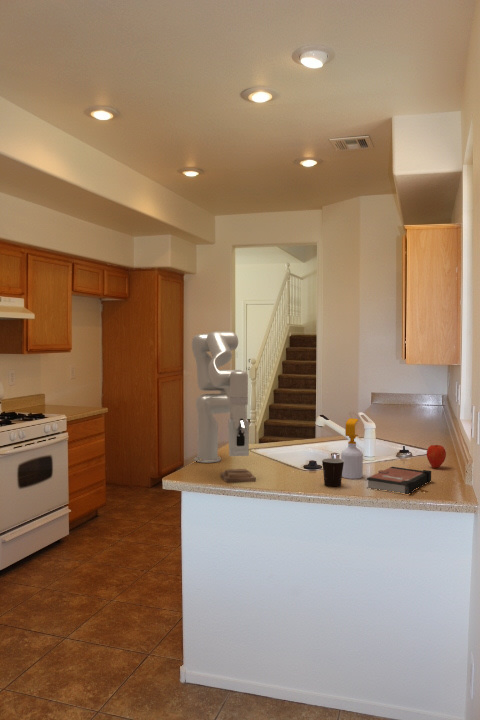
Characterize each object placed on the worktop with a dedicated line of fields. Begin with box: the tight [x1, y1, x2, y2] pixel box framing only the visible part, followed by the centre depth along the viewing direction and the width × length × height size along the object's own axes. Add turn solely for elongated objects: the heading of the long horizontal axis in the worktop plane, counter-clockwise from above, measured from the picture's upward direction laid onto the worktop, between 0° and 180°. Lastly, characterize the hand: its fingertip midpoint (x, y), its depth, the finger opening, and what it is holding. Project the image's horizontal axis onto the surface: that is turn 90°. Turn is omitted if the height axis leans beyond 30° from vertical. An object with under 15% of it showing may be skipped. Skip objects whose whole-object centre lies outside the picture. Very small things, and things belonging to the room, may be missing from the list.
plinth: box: [220, 468, 257, 484], centre depth 246 cm, size 12×12×3 cm
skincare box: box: [227, 418, 250, 457], centre depth 246 cm, size 8×6×15 cm
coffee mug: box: [321, 457, 344, 488], centre depth 235 cm, size 12×9×10 cm
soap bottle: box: [340, 417, 364, 480], centre depth 251 cm, size 9×9×25 cm
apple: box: [426, 444, 447, 469], centre depth 270 cm, size 9×8×11 cm
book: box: [366, 466, 432, 494], centre depth 239 cm, size 26×18×5 cm
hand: (238, 443), depth 246 cm, fingers closed on skincare box, 6 cm apart
